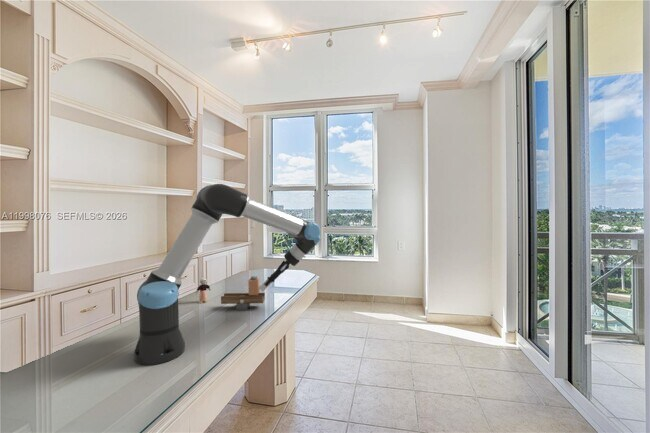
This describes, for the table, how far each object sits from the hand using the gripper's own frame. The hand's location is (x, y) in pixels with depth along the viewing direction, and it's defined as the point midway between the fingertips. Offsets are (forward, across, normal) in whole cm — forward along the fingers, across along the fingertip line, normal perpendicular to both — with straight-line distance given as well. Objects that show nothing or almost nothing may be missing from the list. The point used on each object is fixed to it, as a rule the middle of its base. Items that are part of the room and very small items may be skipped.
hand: (261, 289), depth 150 cm
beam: (+13, 0, 0) cm, 13 cm away
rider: (+5, 0, 0) cm, 5 cm away
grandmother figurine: (+29, +10, +16) cm, 34 cm away
